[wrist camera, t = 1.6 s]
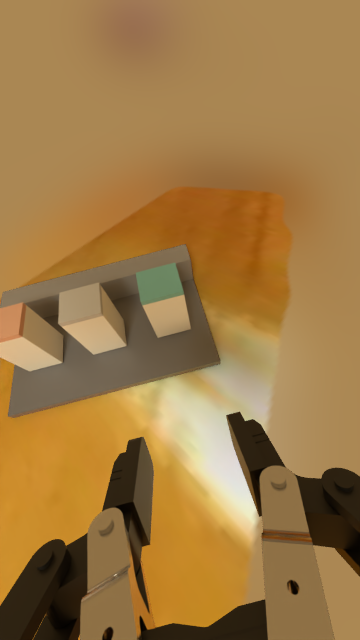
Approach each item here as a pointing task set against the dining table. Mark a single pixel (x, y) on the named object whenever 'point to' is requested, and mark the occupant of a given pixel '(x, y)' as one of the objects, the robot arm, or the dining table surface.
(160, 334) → the beige and green block
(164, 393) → the dining table surface
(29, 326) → the beige and orange block
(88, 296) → the beige tall block
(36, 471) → the dining table surface
